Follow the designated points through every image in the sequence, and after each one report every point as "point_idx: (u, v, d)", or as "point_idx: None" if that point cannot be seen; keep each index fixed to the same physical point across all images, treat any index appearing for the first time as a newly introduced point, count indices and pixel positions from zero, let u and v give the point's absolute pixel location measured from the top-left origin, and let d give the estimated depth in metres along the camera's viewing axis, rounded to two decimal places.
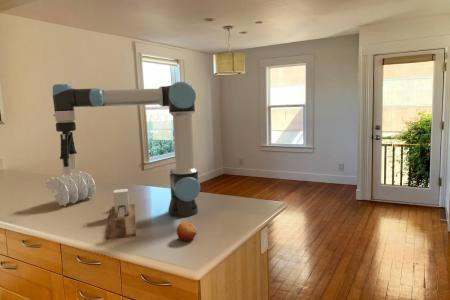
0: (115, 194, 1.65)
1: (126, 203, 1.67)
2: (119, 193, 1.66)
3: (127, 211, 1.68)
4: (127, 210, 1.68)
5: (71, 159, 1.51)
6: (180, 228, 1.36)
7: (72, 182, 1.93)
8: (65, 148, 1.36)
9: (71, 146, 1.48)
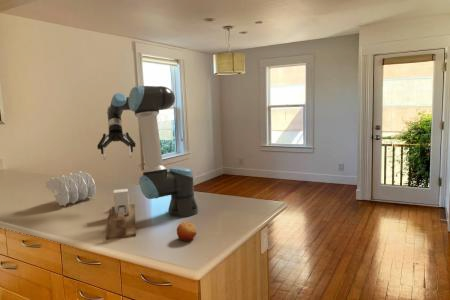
0: (115, 194, 1.65)
1: (126, 203, 1.67)
2: (119, 193, 1.66)
3: (127, 211, 1.68)
4: (127, 210, 1.68)
5: (129, 150, 1.90)
6: (180, 228, 1.36)
7: (72, 182, 1.93)
8: None
9: (124, 141, 1.92)
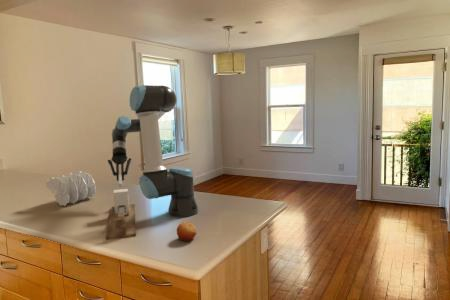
0: (115, 194, 1.65)
1: (126, 203, 1.67)
2: (119, 193, 1.66)
3: (127, 211, 1.68)
4: (127, 210, 1.68)
5: None
6: (180, 228, 1.36)
7: (72, 182, 1.93)
8: (111, 168, 1.86)
9: (121, 166, 1.88)
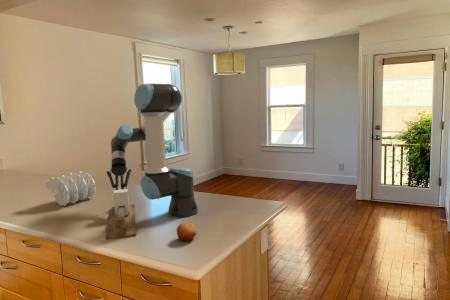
0: (115, 194, 1.65)
1: (126, 203, 1.67)
2: (119, 193, 1.65)
3: (127, 211, 1.67)
4: (127, 210, 1.67)
5: None
6: (180, 228, 1.36)
7: (72, 182, 1.93)
8: (110, 180, 1.77)
9: None
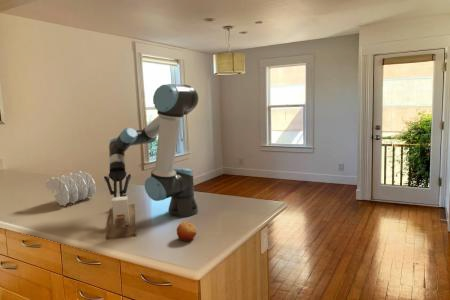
0: (114, 202, 1.51)
1: (126, 212, 1.53)
2: (118, 201, 1.51)
3: (127, 221, 1.53)
4: (127, 220, 1.53)
5: None
6: (180, 228, 1.36)
7: (72, 182, 1.93)
8: (108, 187, 1.63)
9: (119, 184, 1.65)
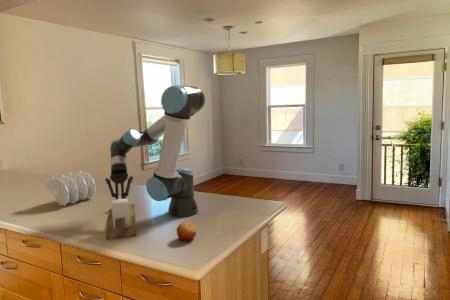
0: (113, 205, 1.47)
1: (126, 215, 1.49)
2: (118, 204, 1.47)
3: (127, 224, 1.49)
4: (127, 223, 1.49)
5: None
6: (180, 228, 1.36)
7: (72, 182, 1.93)
8: None
9: (121, 186, 1.61)
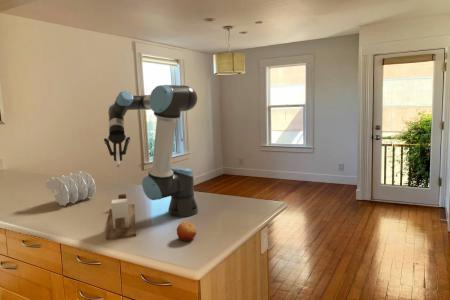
0: (113, 205, 1.47)
1: (126, 215, 1.48)
2: (118, 204, 1.47)
3: (127, 224, 1.49)
4: (127, 223, 1.49)
5: None
6: (180, 228, 1.36)
7: (72, 182, 1.93)
8: (108, 148, 1.68)
9: None
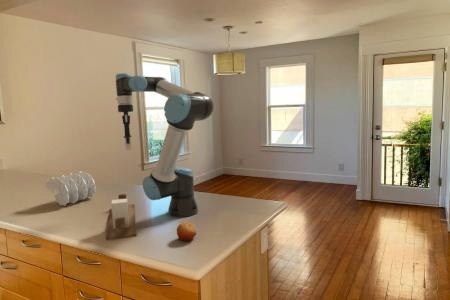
0: (113, 205, 1.47)
1: (126, 215, 1.48)
2: (118, 204, 1.47)
3: (127, 224, 1.49)
4: (127, 223, 1.49)
5: None
6: (180, 228, 1.36)
7: (72, 182, 1.93)
8: (128, 129, 1.73)
9: None
